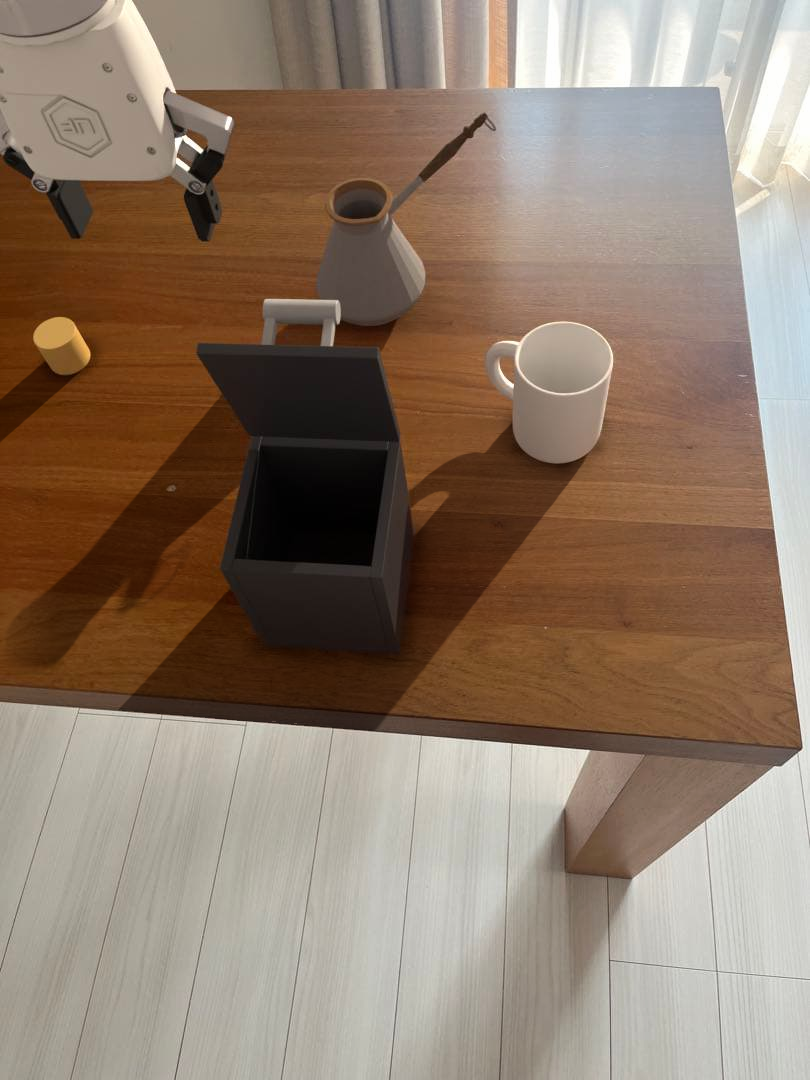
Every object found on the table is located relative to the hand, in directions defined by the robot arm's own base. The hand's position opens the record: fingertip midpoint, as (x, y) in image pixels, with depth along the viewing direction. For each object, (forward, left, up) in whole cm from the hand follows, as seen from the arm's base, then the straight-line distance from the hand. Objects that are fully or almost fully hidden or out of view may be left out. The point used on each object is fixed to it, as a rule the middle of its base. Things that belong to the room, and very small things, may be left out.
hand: (145, 226), depth 64 cm
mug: (+28, -9, -26) cm, 39 cm away
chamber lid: (+7, -15, -6) cm, 18 cm away
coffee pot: (+23, +14, -26) cm, 37 cm away
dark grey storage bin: (+5, -19, -26) cm, 33 cm away
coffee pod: (-14, +17, -26) cm, 34 cm away
